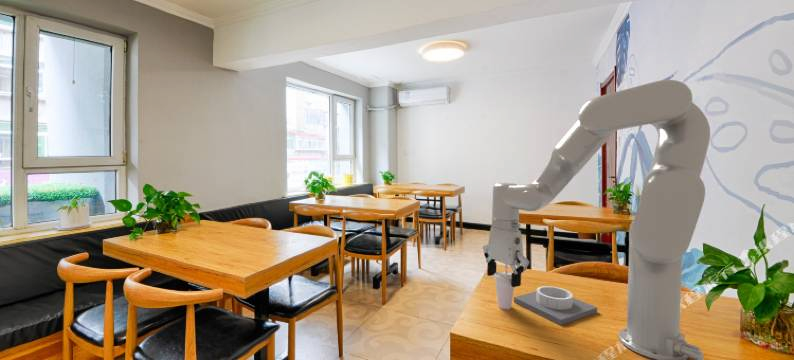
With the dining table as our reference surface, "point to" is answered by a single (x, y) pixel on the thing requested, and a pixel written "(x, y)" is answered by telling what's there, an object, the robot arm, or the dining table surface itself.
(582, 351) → the dining table surface
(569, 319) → the duct collar
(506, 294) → the smoothie
